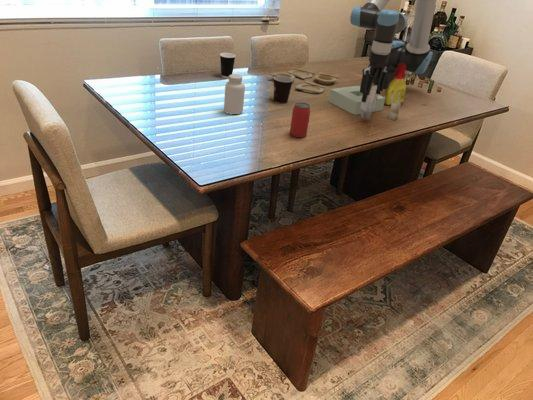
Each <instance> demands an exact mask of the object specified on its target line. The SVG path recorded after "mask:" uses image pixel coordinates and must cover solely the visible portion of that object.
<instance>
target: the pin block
mask: <svg viewBox="0 0 533 400" xmlns="http://www.w3.org/2000/svg"><path fill="white" fill-rule="evenodd" d="M360 87H361V85H351V86H344V87H343V86H342V87H337V88H330V90H329V94H328V99H327V101H328V102H329V103H331V104H332V105H334V106H336V107H338V108H340V109H342V110H344V111H346V112H347V113H349V114H352V115H353V114H354V115H353V116H356V115H357V116H358V115H361V112H362V109H361V103H362V96H363V93H361V92H360ZM384 102H385V96H382V95H380V94H378V96H377V100H376V102H375V106H374V109H372V111H371V113H374V112H381V111H383V110H384V106H385V103H384Z"/></svg>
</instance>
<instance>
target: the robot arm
mask: <svg viewBox="0 0 533 400" xmlns="http://www.w3.org/2000/svg"><path fill="white" fill-rule="evenodd" d="M390 1H391V0H367V1H366V2H365V3H364V5H362V6H361V5H360V6H358V5H356V6H354V7H353V8H352V10H351V13H350V16H349V17H350V19H349V20H350V21H349V22H350V23H351V25H352V26H355V27H358V28H364V29H369V30H374V36H373V39H372V45H371V48H370V50H371V51H370V53H369V58H368V61H369V65H368V67H367V68H363V69H362V76H361V82H360V92H361V93H363V96H362V103H361V109H363V110H366V109H367V104H368V100H369V96H370V95H368V94H369V91H370V89H371V86H372V83H375V84H377V85H378V86H377V90H376V94H375V98H374V103H373V107H372V109H374V106H375V102H376V100H377V96H378V95H380V94H381V92H383V91H384V90H386V88H387V86H388V84H389V83H390V82H391V81H392V80H393V77H394V74H395V71H396V68H397V66H398V64H399V63H405V64H406V70H405V72H406V71H407V72H411V73H414V74H419V75H422V74H424V73H425V72H426V70H427V69H428V67H429V65H430V62H431V60H432V58H433V55H434V52H433V51H431V45H430V44H429V40H430V39H429V38H430V35H431V29H432V26H433V25H432V23H433V19H434V15H435V9H436V5H437V0H416V4H415V10H414V16H413V21H412V28H411V34H410V39H409V42H408V43H407V44H406V43H405V41H402V40H394V37H395V36H396V35H397V34H399V33H401V32H402V31H404V30H405V28H406V27H407V23H408V21H407V17H406V15H405V14H404V13H402V12H399V11H397V10H394V9H393V10H392V9H385V8H386V6H387V5H388V4H389V2H390ZM405 44H406V45H405Z"/></svg>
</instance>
